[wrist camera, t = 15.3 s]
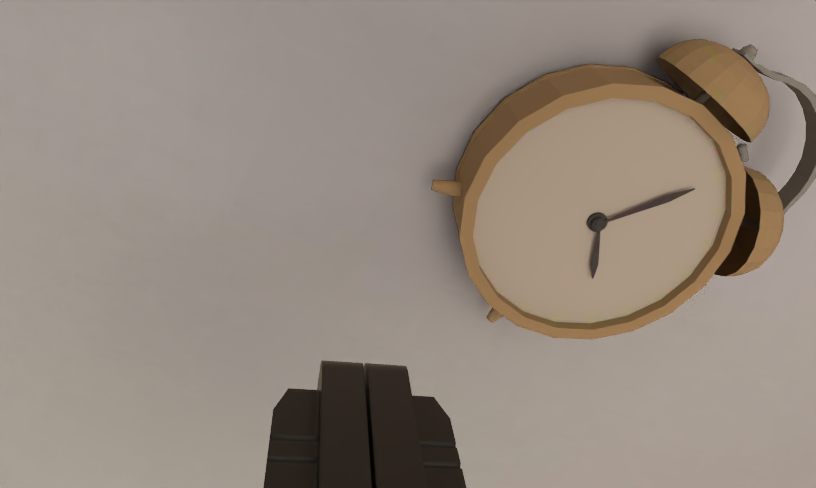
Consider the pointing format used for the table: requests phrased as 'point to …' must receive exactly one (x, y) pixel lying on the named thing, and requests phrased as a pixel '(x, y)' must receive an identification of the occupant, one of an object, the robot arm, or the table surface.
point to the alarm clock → (621, 190)
